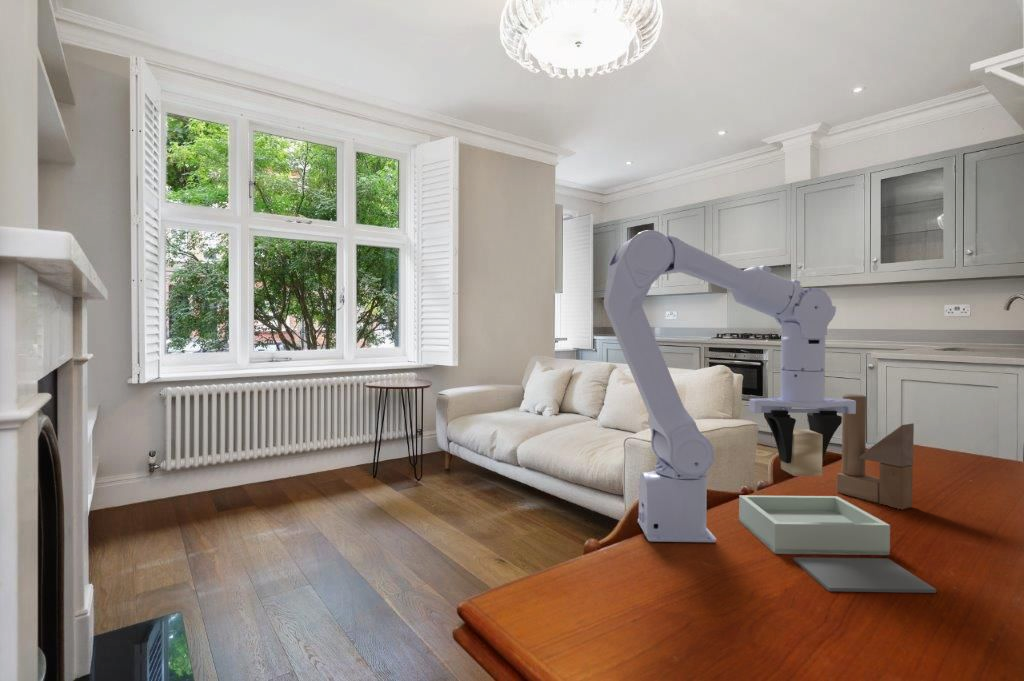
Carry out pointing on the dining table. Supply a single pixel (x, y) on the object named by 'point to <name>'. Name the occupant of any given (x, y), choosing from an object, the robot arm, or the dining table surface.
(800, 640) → the dining table surface
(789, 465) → the birch block
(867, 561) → the mat
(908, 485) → the wooden block structure
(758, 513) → the box
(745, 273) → the robot arm
